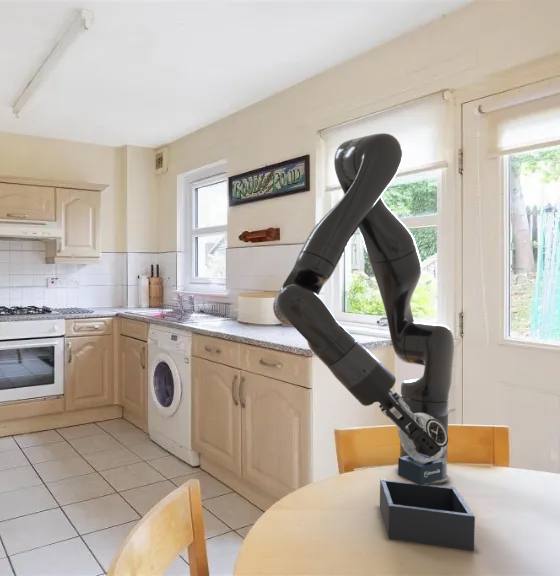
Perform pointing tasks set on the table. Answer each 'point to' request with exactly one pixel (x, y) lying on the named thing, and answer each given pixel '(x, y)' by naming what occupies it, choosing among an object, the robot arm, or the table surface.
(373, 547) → the table surface
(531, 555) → the table surface
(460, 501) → the box
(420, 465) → the watch
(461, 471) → the table surface
